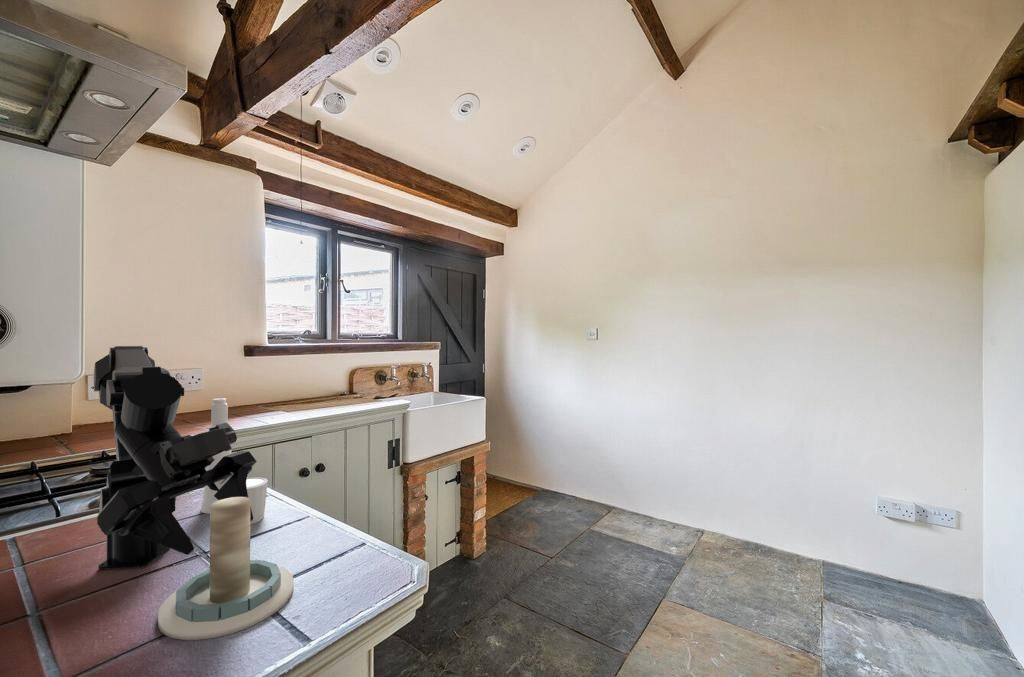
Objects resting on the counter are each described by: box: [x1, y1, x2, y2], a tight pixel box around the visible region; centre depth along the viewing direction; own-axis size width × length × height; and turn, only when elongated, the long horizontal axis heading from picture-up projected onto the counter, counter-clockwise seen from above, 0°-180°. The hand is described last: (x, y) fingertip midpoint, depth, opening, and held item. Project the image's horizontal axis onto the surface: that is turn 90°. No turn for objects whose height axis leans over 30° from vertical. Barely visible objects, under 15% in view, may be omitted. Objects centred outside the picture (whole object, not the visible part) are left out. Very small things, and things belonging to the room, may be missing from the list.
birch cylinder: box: [209, 497, 251, 604], centre depth 59 cm, size 4×4×12 cm
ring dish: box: [157, 559, 295, 641], centre depth 59 cm, size 15×15×2 cm
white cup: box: [246, 476, 269, 525], centre depth 85 cm, size 7×7×7 cm
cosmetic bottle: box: [200, 397, 233, 515], centre depth 89 cm, size 6×6×22 cm
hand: (223, 535), depth 59 cm, fingers open, 9 cm apart
